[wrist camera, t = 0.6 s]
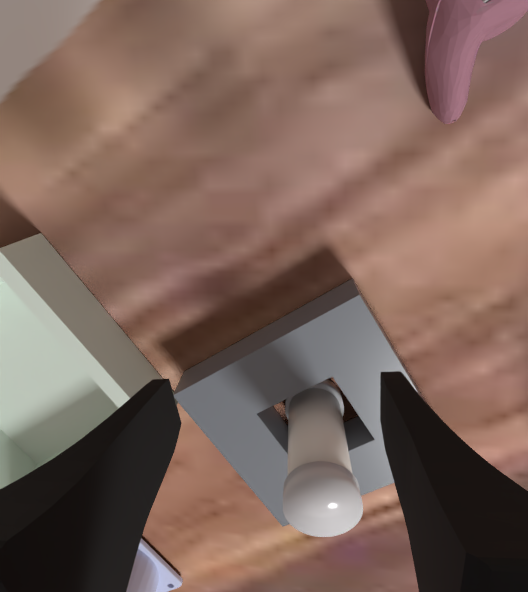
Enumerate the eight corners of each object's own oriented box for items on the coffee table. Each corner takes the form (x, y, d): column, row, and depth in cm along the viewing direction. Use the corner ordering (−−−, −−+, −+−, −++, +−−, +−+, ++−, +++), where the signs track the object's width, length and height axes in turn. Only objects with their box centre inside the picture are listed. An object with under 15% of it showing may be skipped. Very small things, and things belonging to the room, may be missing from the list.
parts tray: (42, 472, 29) (10, 513, 26) (-98, 338, 26) (-155, 367, 22) (179, 398, 26) (163, 436, 23) (40, 232, 22) (-3, 248, 19)
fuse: (303, 430, 26) (308, 546, 19) (274, 391, 25) (267, 496, 18) (352, 408, 25) (377, 520, 18) (324, 366, 24) (338, 467, 17)
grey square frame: (283, 494, 28) (282, 526, 26) (183, 371, 25) (172, 395, 23) (442, 428, 25) (457, 457, 23) (352, 278, 22) (359, 294, 20)
